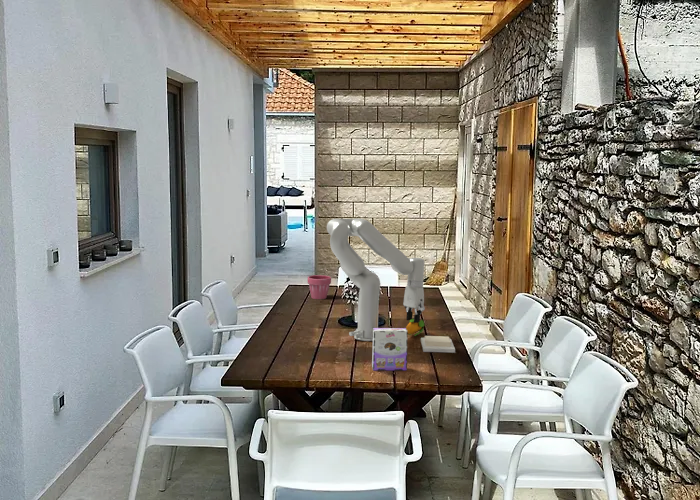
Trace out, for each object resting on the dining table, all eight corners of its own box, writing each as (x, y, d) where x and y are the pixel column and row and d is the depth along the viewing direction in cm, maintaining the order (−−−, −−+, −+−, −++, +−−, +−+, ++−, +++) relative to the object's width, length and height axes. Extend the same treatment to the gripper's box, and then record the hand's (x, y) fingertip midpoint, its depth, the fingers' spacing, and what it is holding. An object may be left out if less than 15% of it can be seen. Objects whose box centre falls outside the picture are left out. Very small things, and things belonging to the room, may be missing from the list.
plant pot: (317, 301, 447) (317, 279, 445) (302, 297, 457) (302, 276, 455) (335, 298, 456) (335, 277, 455) (320, 294, 466) (320, 274, 465)
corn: (426, 315, 370) (415, 323, 351) (426, 331, 371) (415, 339, 352) (412, 315, 373) (400, 322, 354) (412, 330, 373) (400, 338, 355)
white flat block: (455, 352, 334) (455, 344, 334) (423, 351, 335) (423, 343, 334) (450, 341, 354) (450, 334, 354) (420, 340, 354) (421, 333, 354)
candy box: (405, 367, 309) (406, 327, 307) (406, 371, 303) (408, 331, 301) (371, 366, 309) (372, 327, 307) (372, 370, 303) (373, 330, 301)
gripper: (397, 281, 365) (395, 318, 367) (421, 287, 351) (418, 325, 353) (409, 280, 369) (407, 317, 371) (433, 286, 356) (430, 324, 358)
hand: (412, 320), depth 362 cm, fingers closed on corn, 4 cm apart
